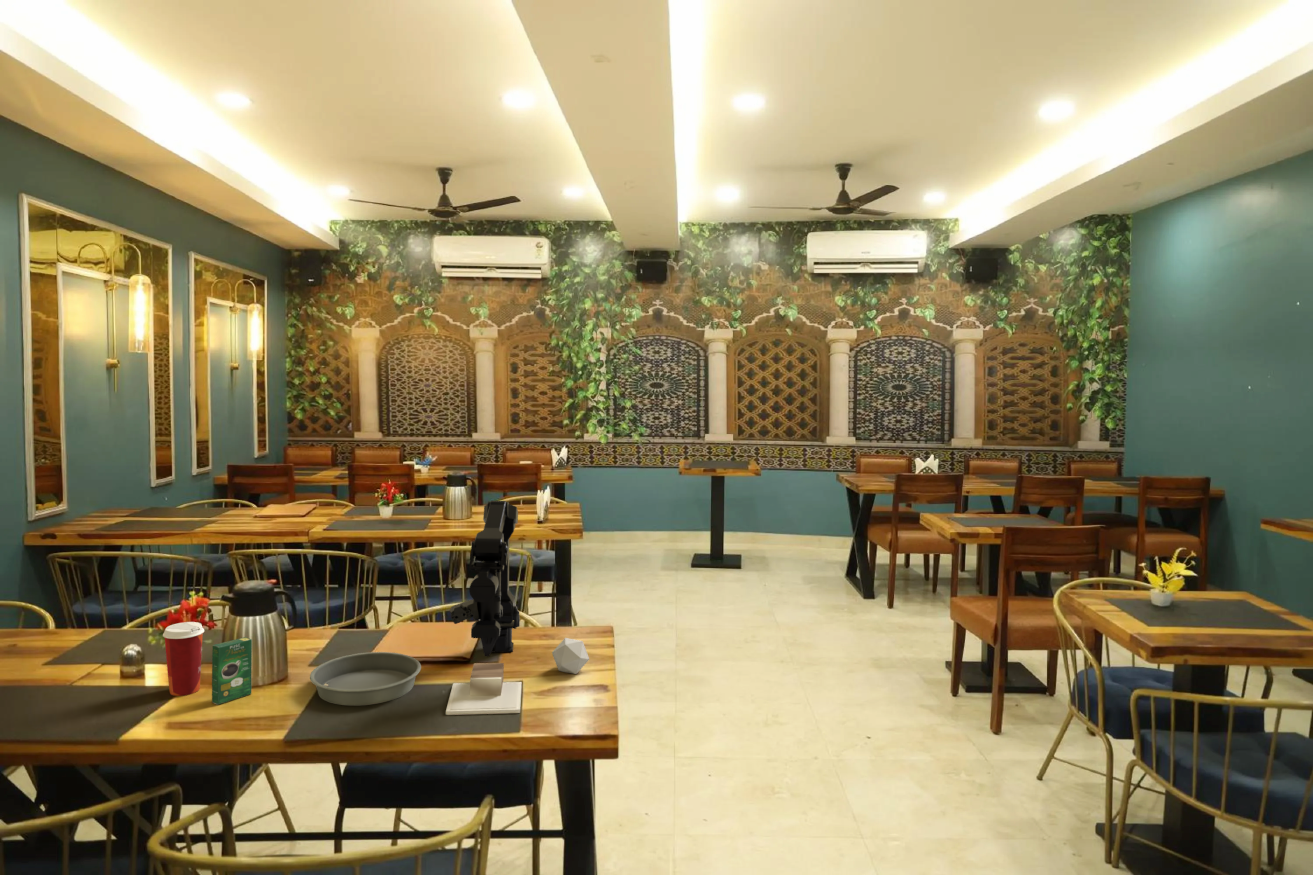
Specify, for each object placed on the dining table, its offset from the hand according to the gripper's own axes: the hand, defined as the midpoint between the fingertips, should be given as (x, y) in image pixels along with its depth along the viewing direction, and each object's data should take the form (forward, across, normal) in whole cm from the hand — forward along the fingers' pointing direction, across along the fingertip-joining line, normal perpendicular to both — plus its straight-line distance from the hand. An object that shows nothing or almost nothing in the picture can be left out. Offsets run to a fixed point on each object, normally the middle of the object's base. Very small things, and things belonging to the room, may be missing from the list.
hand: (487, 655), depth 195 cm
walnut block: (+6, -5, 0) cm, 8 cm away
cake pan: (+9, -4, -28) cm, 30 cm away
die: (+9, -12, +20) cm, 25 cm away
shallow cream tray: (+9, +4, 0) cm, 10 cm away
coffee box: (+9, 0, -56) cm, 57 cm away
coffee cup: (+9, -4, -68) cm, 69 cm away
